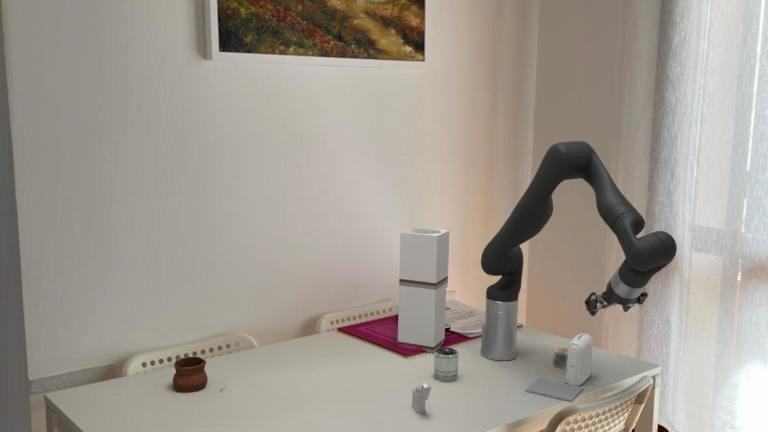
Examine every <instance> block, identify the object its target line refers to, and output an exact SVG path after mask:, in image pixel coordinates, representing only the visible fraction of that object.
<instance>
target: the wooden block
mask: <svg viewBox="0 0 768 432" xmlns="http://www.w3.org/2000/svg"><path fill="white" fill-rule="evenodd" d="M567 362H568V348H565V347H560V346H558V347H556V348H555V349H553V352H552V366H551V367H553V368H557V369H564V370H567Z"/></svg>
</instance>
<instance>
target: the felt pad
mask: <svg viewBox="0 0 768 432" xmlns="http://www.w3.org/2000/svg"><path fill="white" fill-rule="evenodd" d="M583 390H584V387H582V386H573V385H570V384H568V383H562V382H558V381H554V380H549V379H544V378H539V377H537V379H536V380H535V381H534V382H532V383H531V384H530V385H529V386H527V388H525V390H524V392H525V393H526V392H527V393H530V394H534V395H535V394H536V395H538V396H544V397H548V398H551V399H556V400H561V401H566V402H570V403H572V402H573V401H574V400H575V399H576V398H577V397H578V395H580V393H582V391H583Z"/></svg>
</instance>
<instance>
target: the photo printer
mask: <svg viewBox="0 0 768 432" xmlns="http://www.w3.org/2000/svg"><path fill="white" fill-rule="evenodd" d="M567 349H568V362H567V369H566V377H565V378H566V384H568V385H573V386H577V387H579V386H581V385H582V384H583V383H585V382H586V381H587V380H588V379H589V377H590V375H591V373H592V371H591V370H592V355H593V338H592V337H591V335H589V334H588V333H579V334H577V335H575V336H574V337H573V338H572V340H570V342H569V345H568V348H567Z"/></svg>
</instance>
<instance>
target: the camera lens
mask: <svg viewBox="0 0 768 432" xmlns="http://www.w3.org/2000/svg"><path fill="white" fill-rule="evenodd" d="M433 369H434V370H433V372H434V378H435V379H436V380H437V381H439V382H443V383H450V382H451V383H452V382H455V381H456V380H457V377H458V373H459V352H458V351H457V350H456V349H454V348H452V347H441V348H440V349H437V350H436V351H435V353H434V367H433Z"/></svg>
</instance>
